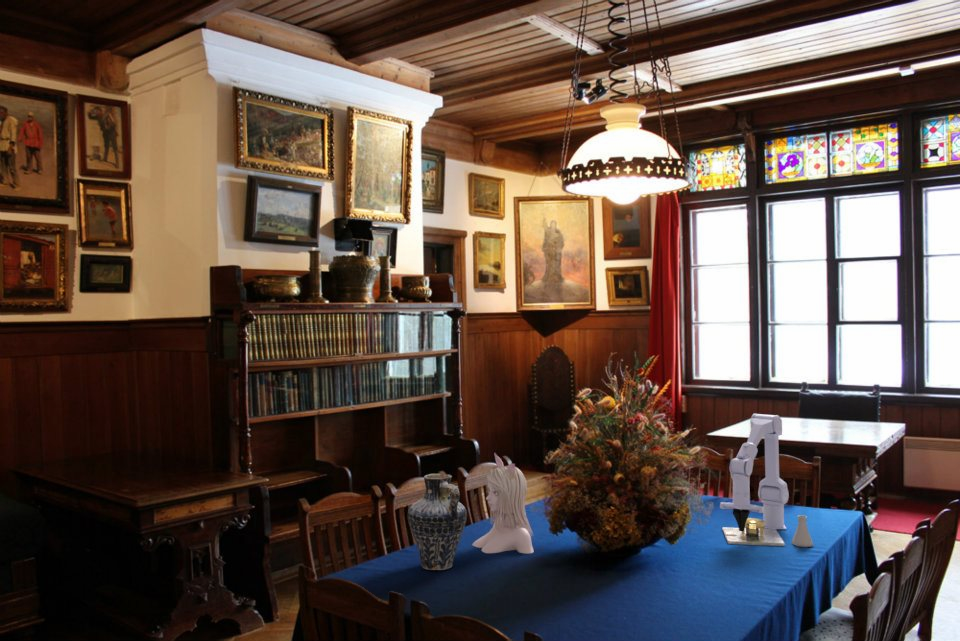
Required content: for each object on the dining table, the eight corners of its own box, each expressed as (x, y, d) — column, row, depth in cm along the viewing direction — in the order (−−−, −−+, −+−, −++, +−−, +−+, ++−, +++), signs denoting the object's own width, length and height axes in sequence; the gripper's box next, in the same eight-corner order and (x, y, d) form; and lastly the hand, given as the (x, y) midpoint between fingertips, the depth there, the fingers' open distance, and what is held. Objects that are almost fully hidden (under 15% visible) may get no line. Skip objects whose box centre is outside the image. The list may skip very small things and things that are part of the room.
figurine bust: (463, 539, 289) (461, 452, 288) (512, 531, 297) (511, 447, 297) (494, 559, 265) (492, 464, 264) (546, 550, 273) (545, 459, 273)
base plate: (722, 529, 295) (722, 518, 295) (775, 531, 291) (775, 520, 291) (728, 543, 277) (727, 532, 277) (784, 546, 274) (784, 534, 274)
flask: (817, 547, 272) (816, 518, 272) (796, 547, 272) (795, 519, 272) (808, 541, 279) (808, 513, 279) (788, 541, 279) (788, 513, 279)
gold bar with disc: (740, 529, 290) (739, 517, 290) (764, 531, 287) (764, 518, 287) (740, 540, 276) (740, 527, 276) (765, 542, 273) (765, 529, 273)
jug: (396, 567, 258) (394, 476, 257) (438, 553, 272) (437, 467, 272) (440, 581, 244) (438, 485, 243) (482, 565, 258) (480, 474, 257)
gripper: (717, 492, 278) (718, 530, 278) (760, 497, 271) (760, 536, 271) (722, 488, 284) (723, 525, 285) (764, 492, 277) (764, 531, 277)
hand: (741, 530), depth 278 cm, fingers closed
